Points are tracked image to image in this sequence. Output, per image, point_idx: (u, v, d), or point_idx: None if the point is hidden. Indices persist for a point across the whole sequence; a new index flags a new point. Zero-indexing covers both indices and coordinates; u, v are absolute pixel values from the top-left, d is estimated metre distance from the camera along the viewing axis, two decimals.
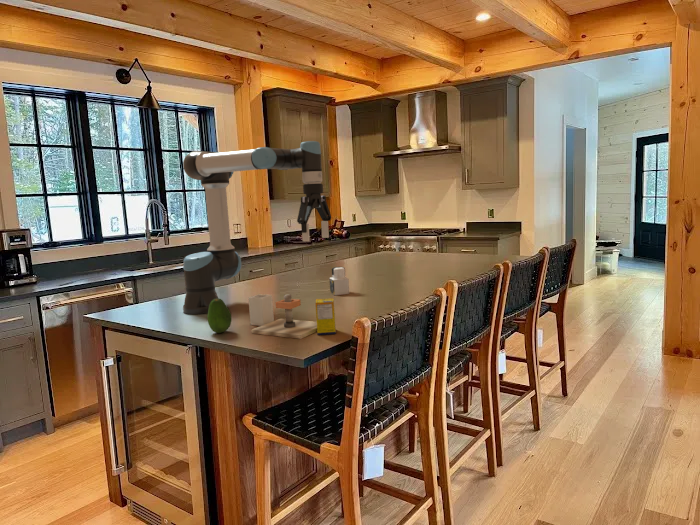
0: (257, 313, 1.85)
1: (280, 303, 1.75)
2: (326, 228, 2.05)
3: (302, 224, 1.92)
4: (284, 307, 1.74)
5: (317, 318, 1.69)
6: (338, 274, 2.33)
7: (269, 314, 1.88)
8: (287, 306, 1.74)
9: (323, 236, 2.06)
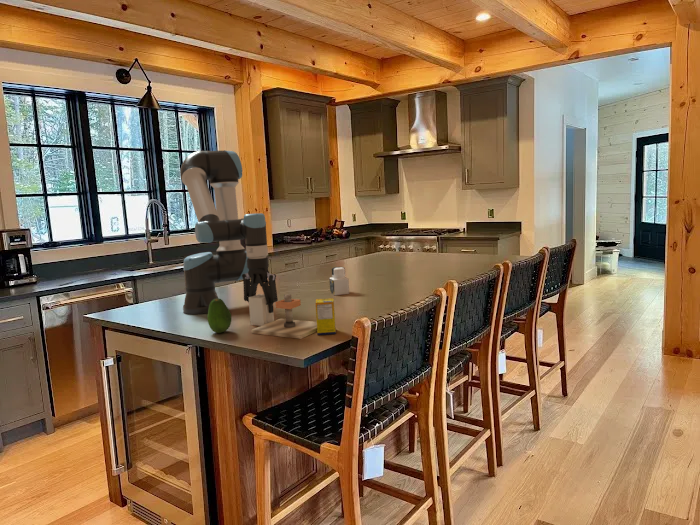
0: (258, 313, 1.85)
1: (280, 303, 1.75)
2: None
3: None
4: (284, 307, 1.74)
5: (317, 318, 1.69)
6: (338, 274, 2.33)
7: None
8: (287, 306, 1.74)
9: None
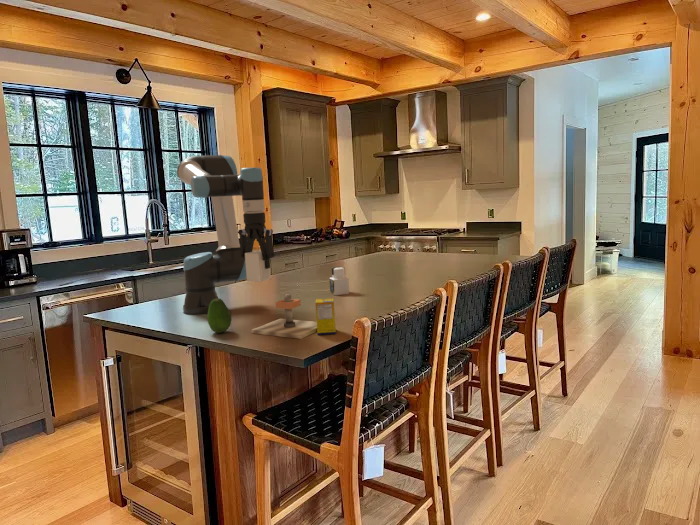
0: (254, 269, 1.84)
1: (280, 303, 1.75)
2: None
3: None
4: (284, 307, 1.74)
5: (317, 318, 1.69)
6: (338, 274, 2.33)
7: None
8: (287, 306, 1.74)
9: None
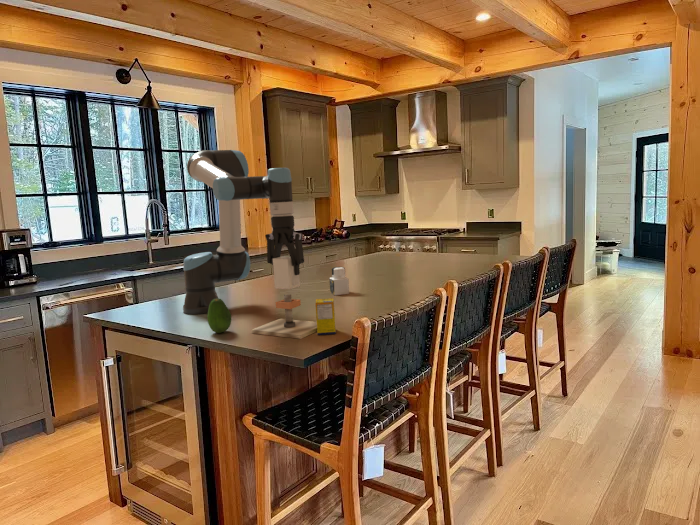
0: (283, 276, 1.73)
1: (280, 303, 1.75)
2: None
3: None
4: (284, 307, 1.74)
5: (317, 318, 1.69)
6: (338, 274, 2.33)
7: None
8: (287, 306, 1.74)
9: None
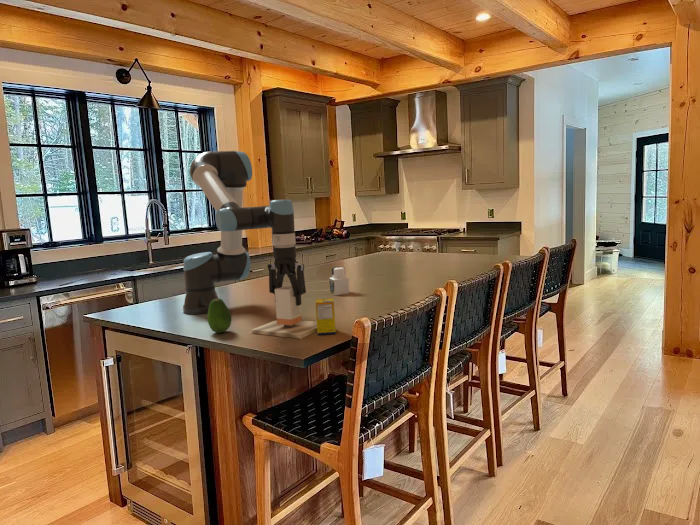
0: (285, 306, 1.74)
1: (281, 319, 1.76)
2: None
3: None
4: (285, 323, 1.75)
5: (317, 318, 1.69)
6: (338, 274, 2.33)
7: None
8: (288, 322, 1.74)
9: None
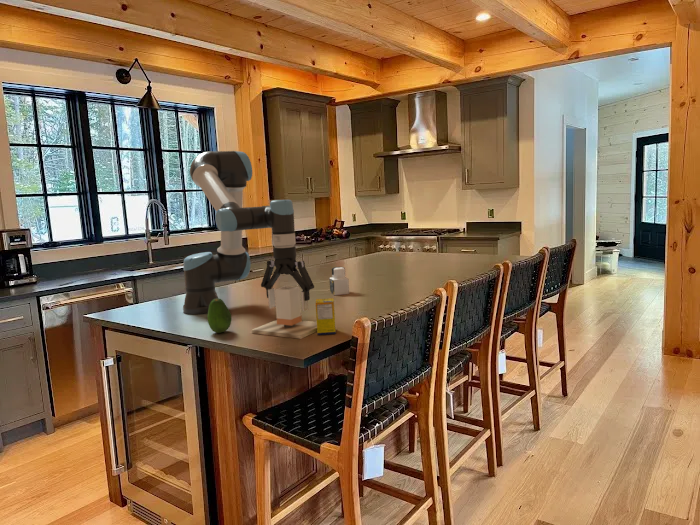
0: (285, 306, 1.74)
1: (281, 319, 1.76)
2: None
3: None
4: (285, 323, 1.75)
5: (317, 318, 1.69)
6: (338, 274, 2.33)
7: (297, 307, 1.76)
8: (288, 322, 1.74)
9: None
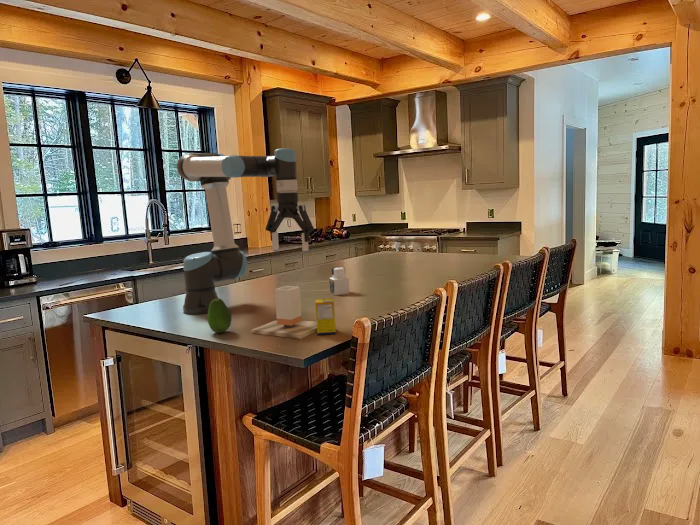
0: (285, 306, 1.74)
1: (281, 319, 1.76)
2: None
3: None
4: (285, 323, 1.75)
5: (317, 318, 1.69)
6: (338, 274, 2.33)
7: (297, 307, 1.76)
8: (288, 322, 1.74)
9: None
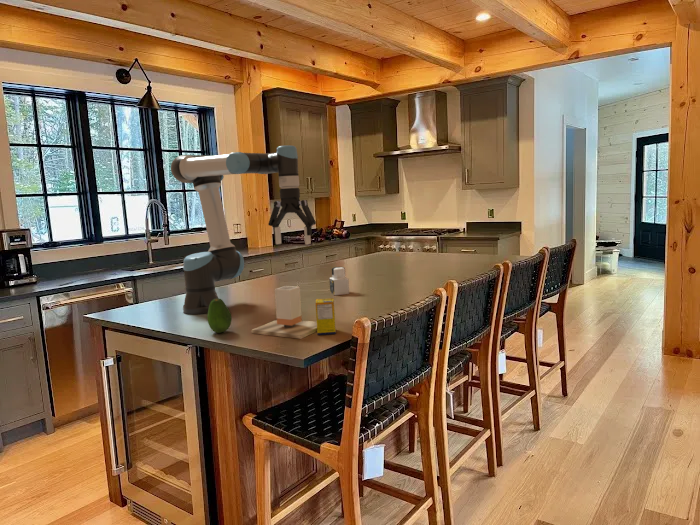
0: (285, 306, 1.74)
1: (281, 319, 1.76)
2: None
3: None
4: (285, 323, 1.75)
5: (317, 318, 1.69)
6: (338, 274, 2.33)
7: (297, 307, 1.76)
8: (288, 322, 1.74)
9: None
